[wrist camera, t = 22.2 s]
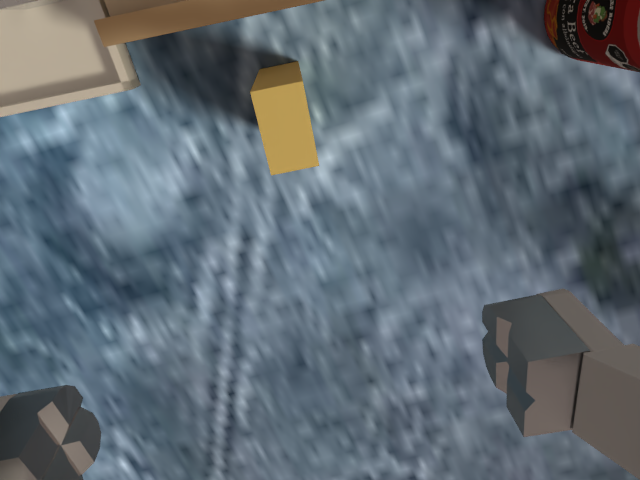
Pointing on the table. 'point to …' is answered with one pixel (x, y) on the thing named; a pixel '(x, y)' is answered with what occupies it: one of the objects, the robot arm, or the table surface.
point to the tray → (58, 57)
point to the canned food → (596, 31)
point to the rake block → (284, 118)
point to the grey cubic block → (24, 4)
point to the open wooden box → (176, 16)
